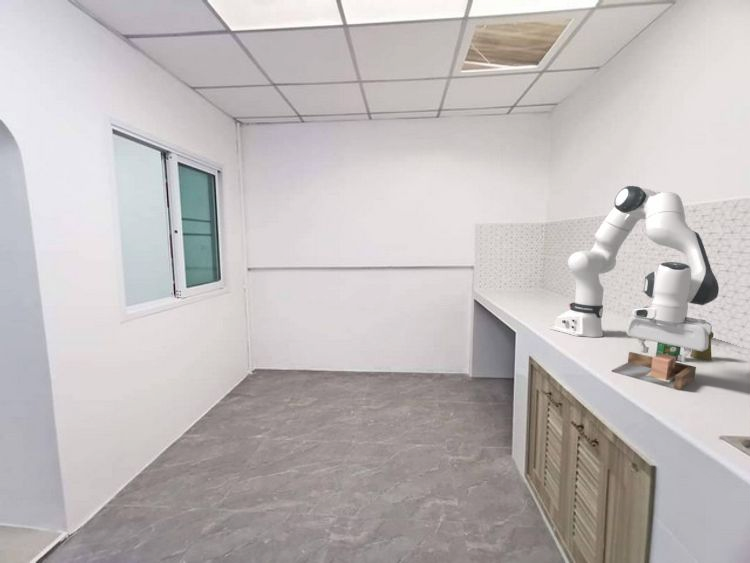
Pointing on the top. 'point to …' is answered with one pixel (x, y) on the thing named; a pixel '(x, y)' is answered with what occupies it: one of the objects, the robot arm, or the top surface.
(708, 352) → the cork
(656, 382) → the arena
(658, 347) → the coffee box
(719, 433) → the top surface
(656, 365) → the terracotta block
